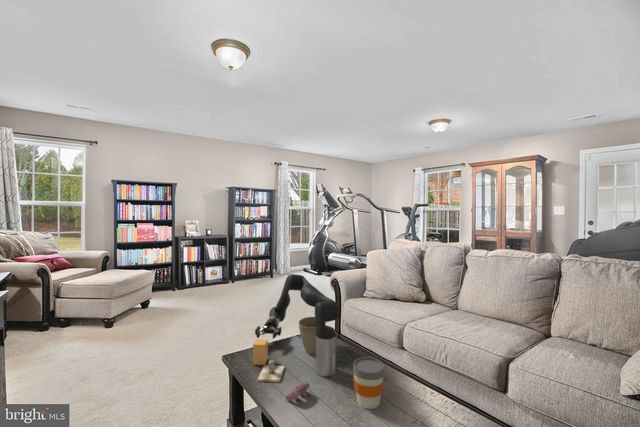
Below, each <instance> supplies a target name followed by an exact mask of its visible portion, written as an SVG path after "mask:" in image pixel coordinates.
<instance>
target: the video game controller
mask: <svg viewBox="0 0 640 427" xmlns="http://www.w3.org/2000/svg"><path fill="white" fill-rule="evenodd" d="M309 388H310V384H309V382H307V381H306V380H304V381H303V382H299V383H298V384H296V387H295V388H293V389H292V390H291V392H289V393H287V394H286V395H285V400H286V401H288V402H291V401H293V400H295V401H297V400H298V399H299V398H300V396H301V397H302V396H304V395H305V393H306V391H307V390H309Z"/></svg>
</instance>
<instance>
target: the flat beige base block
mask: <svg viewBox="0 0 640 427" xmlns="http://www.w3.org/2000/svg"><path fill="white" fill-rule="evenodd" d="M284 370H285V365H277V364H276V365H275V360H273V359H271V360H269V361H268V365H267V364H265V365H262V369H261V371H260V373H259V375H258V378H257V382H262V383H263V382H264V383H265V382H266V383H281V379H282V377H283V373H284Z"/></svg>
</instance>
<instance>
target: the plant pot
mask: <svg viewBox="0 0 640 427" xmlns="http://www.w3.org/2000/svg"><path fill="white" fill-rule="evenodd" d="M297 324H298V329H299V334H300V339H301V342H302V346H303V348H304V350H305V353H306V354H309V355H310V354H311V355H314V354H315V355H316V329H315V316H308V317H303V318H301V319H299V320H298V323H297ZM326 324H327V322H325V325H326ZM326 326H327V325H326Z"/></svg>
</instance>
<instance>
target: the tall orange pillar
mask: <svg viewBox="0 0 640 427" xmlns="http://www.w3.org/2000/svg"><path fill="white" fill-rule="evenodd" d="M268 342H269V339H264V338H263V339H260V338H257V339H255V341H254V342H253V344H252V365H255V366H256V365H257V366H264V365H267V362H268V359H269V343H268Z"/></svg>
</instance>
